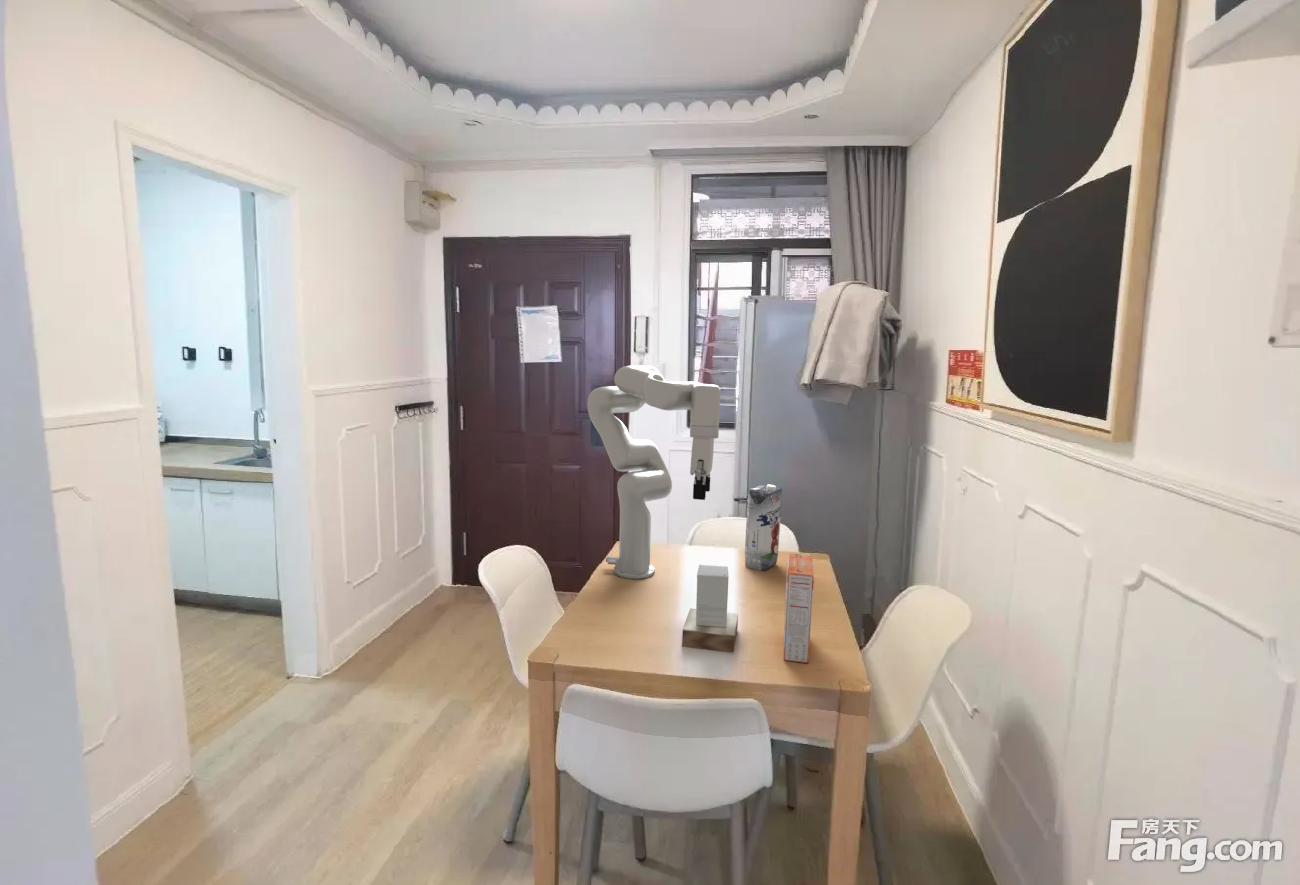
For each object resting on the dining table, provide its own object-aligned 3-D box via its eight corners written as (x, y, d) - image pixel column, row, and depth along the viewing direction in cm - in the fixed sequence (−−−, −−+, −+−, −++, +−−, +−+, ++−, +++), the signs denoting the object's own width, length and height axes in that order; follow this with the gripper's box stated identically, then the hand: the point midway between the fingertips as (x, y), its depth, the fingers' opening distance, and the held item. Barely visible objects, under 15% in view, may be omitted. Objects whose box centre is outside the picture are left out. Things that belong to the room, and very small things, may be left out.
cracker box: (782, 633, 154) (788, 552, 151) (808, 637, 153) (813, 555, 149) (781, 661, 140) (787, 572, 137) (809, 665, 139) (815, 575, 136)
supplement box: (726, 615, 154) (729, 566, 152) (726, 628, 146) (728, 576, 144) (696, 612, 154) (698, 563, 153) (694, 625, 147) (696, 574, 145)
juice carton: (740, 567, 200) (745, 485, 196) (755, 558, 209) (759, 479, 204) (766, 573, 195) (771, 489, 191) (780, 564, 204) (785, 483, 199)
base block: (681, 646, 146) (682, 629, 145) (689, 624, 158) (690, 608, 157) (733, 652, 144) (734, 635, 143) (737, 630, 155) (738, 613, 155)
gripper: (694, 426, 173) (692, 487, 176) (685, 435, 156) (682, 501, 159) (721, 428, 172) (718, 489, 174) (715, 436, 155) (711, 503, 157)
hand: (701, 495), depth 167 cm, fingers open, 9 cm apart
